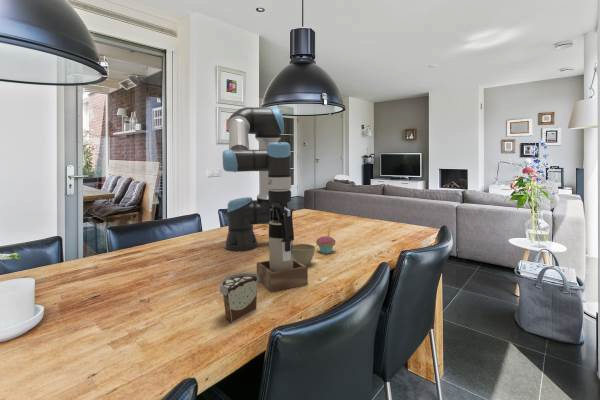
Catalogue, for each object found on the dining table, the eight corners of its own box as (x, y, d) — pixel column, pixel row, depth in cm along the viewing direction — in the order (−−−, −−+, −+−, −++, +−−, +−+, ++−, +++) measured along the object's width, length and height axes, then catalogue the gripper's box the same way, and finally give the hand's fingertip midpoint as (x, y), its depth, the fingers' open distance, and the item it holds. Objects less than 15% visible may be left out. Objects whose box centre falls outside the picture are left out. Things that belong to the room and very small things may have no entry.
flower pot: (313, 269, 125) (312, 250, 124) (287, 267, 127) (287, 249, 126) (317, 261, 134) (316, 243, 134) (293, 259, 136) (292, 243, 136)
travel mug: (265, 276, 110) (264, 222, 108) (276, 268, 117) (274, 218, 115) (287, 279, 107) (286, 224, 105) (296, 271, 114) (296, 220, 112)
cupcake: (337, 250, 150) (337, 224, 148) (332, 255, 142) (332, 228, 140) (319, 248, 153) (318, 223, 151) (313, 253, 145) (313, 227, 143)
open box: (257, 279, 115) (256, 262, 114) (290, 272, 121) (290, 256, 120) (271, 292, 104) (271, 273, 103) (307, 284, 110) (307, 267, 109)
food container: (244, 302, 97) (243, 269, 95) (260, 307, 93) (259, 273, 92) (211, 319, 86) (209, 282, 85) (227, 326, 83) (225, 287, 82)
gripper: (257, 188, 116) (259, 251, 119) (282, 193, 98) (284, 267, 100) (277, 187, 119) (278, 248, 122) (304, 191, 101) (305, 263, 104)
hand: (281, 257), depth 111 cm, fingers closed on travel mug, 8 cm apart
